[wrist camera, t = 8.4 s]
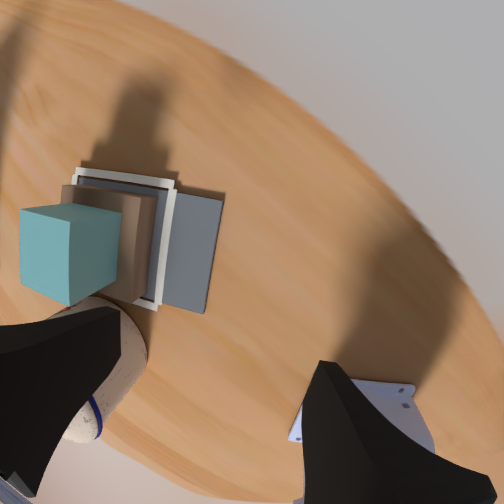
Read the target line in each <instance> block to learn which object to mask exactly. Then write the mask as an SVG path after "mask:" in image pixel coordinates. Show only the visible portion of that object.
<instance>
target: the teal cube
mask: <svg viewBox="0 0 504 504" xmlns="http://www.w3.org/2000/svg"><path fill="white" fill-rule="evenodd" d="M121 215H122V213H119V212H114V211H109V210H104V209H100V208H95V207H90V206H85V205H80V204H75V203H67V204H58V205H49V206H41V207H33V208H26V209H20V224H19V255H20V276H21V284H23V285H25V286H27V287H29V288H31V289H33V290H35V291H37V292H39V293H41V294H43V295H45V296H47V297H49V298H51V299H54V300H56V301H58V302H60V303H62V304H64V305H67V306H69V307H70V306H72V305H74V304H75V303H77V302H79V301H81V300H82V299H84V298H86V297H88V296H89V295H91V294H93V293H95V292H96V291H98V290H100V289H102V288H103V287H105V286H107V285H109V284H111V283H112V282H114V281H116V273H117V257H118V245H119V234H120V224H121Z"/></svg>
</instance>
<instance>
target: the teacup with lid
mask: <svg viewBox="0 0 504 504" xmlns="http://www.w3.org/2000/svg"><path fill="white" fill-rule="evenodd" d="M103 306H109V307H112V308H114V309H117V310H120V311H121V357H120V359H119V360H118V362H117V364H116V365H115V367H114V369H113V370H112V372H111V373H110V375H109V376H108V377H107V378H106V380H105V381H104V382H103V383H102V384H101V386H100V387H99V388H98V389H97V390H96V391H95V393H94V394H93V395H92V396H91V397H90V398H89V400H88V401H87V402H86V403H85V404H84V406H83V407H82V408H81V409H80V410H79V411H78V413H77V414H76V415H75V417H74V418H73V420H72V421H71V423H70V424H69V426H68V428H67V429H66V431H65V432H64V434H63V436H62V437H63V438H65V439H67V440H70V441H73V442H77V443H86V442H90V441H92V440H94V439H96V438H98V437H99V435H100V434H101V432H102V428H103V424H104V423H105V422H106V420H107V419H108V418H109V416H110V415H111V414H112V412H113V411H114V410H115V409H116V407H117V406H118V405H119V403H120V402H121V401H122V399H123V398H124V397H125V396H126V394H127V393H128V392H129V390H130V389H131V388H132V386H133V385H134V384H135V383H136V381H137V380H138V379H139V377H140V376H141V375H142V373H143V372H144V370H145V367H146V362H147V352H146V347H145V343H144V340H143V338H142V335H141V333H140V331H139V330H138V328H137V326H136V325H135V323H134V322H133V321H132V319H131V318H130V317H129V316H128V315H127V314H126V313H125V312H124V311H123V310H122V309H121V308H119V307H118V306H117V305H115V304H114V303H112V302H110V301H108V300H106V299H103V298H99V297H86V298H84V299H82V300H81V301H79V302H77V303H75V304H74V305H72V306H70V307H69V306H68V307H66V308H64V309H62V310H61V311H59V312H57V313H56V314H54V315H52V316H51V317H49V318H47V319H45V320H48V319H53V318H57V317H62V316H66V315H69V314H73V313H77V312H81V311H85V310H89V309H93V308H98V307H103Z"/></svg>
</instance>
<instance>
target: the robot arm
mask: <svg viewBox="0 0 504 504" xmlns="http://www.w3.org/2000/svg"><path fill="white" fill-rule="evenodd" d="M120 357H121V311H120V310H117V309H114V308H112V307H109V306H103V307H98V308H93V309H89V310H85V311H81V312H77V313H73V314H69V315H66V316H62V317H57V318H53V319H48V320H43V321H38V322H33V323H26V324H18V325H3V326H0V476H1V477H2V478H3V479H4V480H5V481H7V482H8V483H9V484H11V485H12V486H13V487H15V488H16V489H17V490H18V491H19V492H21V493H22V494H23V495H24V496H26V497H28V498H30V497H31V498H32V497H36V494H37V491H38V488H39V485H40V482H41V480H42V477H43V474H44V472H45V470H46V467H47V465H48V463H49V461H50V458H51V456H52V454H53V452H54V450H55V448H56V447H57V445H58V443H59V441H60V439H61V437H62V436H63V434H64V432H65V431H66V429H67V428H68V426H69V424H70V423H71V421H72V420H73V418H74V417H75V415H76V414H77V413H78V411H79V410H80V409H81V408H82V407H83V406H84V404H85V403H86V402H87V401H88V400H89V398H90V397H91V396H92V395H93V394H94V393H95V391H96V390H97V389H98V388H99V387H100V386H101V384H102V383H103V382H104V381H105V380H106V378H107V377H108V376H109V375H110V373H111V372H112V370H113V369H114V367H115V365H116V364H117V362H118V360H119V359H120ZM400 389H401V390H400ZM415 390H416V388H415V386H414V385H412V384H398V383H385V382H375V381H365V380H357V379H350V378H349V377H348V375H347V374H346V373H345V372H344V371H343V370H342V368H341V367H340V366H339V365H338V364H337V363H334V362H328V361H321V360H320V361H319V363H318V366H317V368H316V371H315V374H314V376H313V378H312V381H311V383H310V386H309V388H308V391H307V393H306V396H305V398H304V400H303V403H302V405H301V407H300V410H299V412H298V414H297V417H296V419H295V421H294V423H293V426H292V428H291V430H290V432H289V434H288V439H289V440H290V441H295V442H302V445H303V497H302V498H300V499H297V500H294V501H293V504H494V502H495V501H496V499H497V494H496V491H495V489H494V487H493V485H492V483H491V481H490V478H489V477H488V476H487V475H484V474H481V473H478V472H475V471H472V470H469V469H466V468H463V467H461V466H458V465H456V464H454V463H452V462H450V461H448V460H445V459H443V458H441V457H440V456H438V455H436V454H435V446H434V441H433V438H432V436H431V434H430V432H429V430H428V427H427V425H426V423H425V421H424V419H423V417H422V415H421V413H420V411H419V409H418V407H417V406H416V404H415V402H414V400H413V398H412V395H413V394H414V392H415ZM298 437H300V438H298ZM4 480H2V479H1V478H0V500H1V502H3V503H4V504H32V503H31V502H29V501H28V500H27V499H26V498H24V497H23V496H22V495H20V494H19V493H18V492H17V491H15V490H14V489H13V488H12V487H11V486H9V485H8V484H7V483H6V482H5V481H4Z"/></svg>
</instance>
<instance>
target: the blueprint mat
mask: <svg viewBox="0 0 504 504" xmlns="http://www.w3.org/2000/svg"><path fill="white" fill-rule="evenodd" d="M78 175H83V176H91V177H98V178H105V179H112V180H119V181H126V182H133V183H139V184H146V185H152V186H158V187H164V188H169V190H168V191H167V190H161V189H155V188H149V187H143V186H136V185H130V184H124V183H117V182H110V181H103V180H96V179H89V178H79V184H78V185H81V184H83V185H90V186H96V187H103V188H109V189H115V190H121V191H127V192H133V193H139V194H145V195H150V196H156V197H158V202H157V208H156V215H155V222H154V229H153V237H152V245H151V254H150V264H149V274H148V285H147V292H146V293H145V294H144V295H142V296H141V297H144V298H147V299H151V300H154V303H153V302H150V301H147V300H144V299H141V298H138V299H137V300H136V301H134V302H133V303H132V304H135V305H138V306H141V307H144V308H147V309H150V310H154V311H158V305H161V306H162V303H164V304H168V305H171V306H174V307H178V308H181V309H185V310H189V311H192V312H196V313H200V314H204V312H205V307H206V300H207V294H208V288H209V282H210V276H211V270H212V264H213V258H214V252H215V247H216V241H217V235H218V230H219V225H220V219H221V214H222V209H223V203H224V201H221V200H216V199H211V198H205V197H200V196H195V195H189V194H184V193H178V192H177V190H176V189H174V183H175V180H170V179H164V178H158V177H151V176H144V175H137V174H130V173H122V172H115V171H107V170H98V169H89V168H80V167H76V172H75V174H73V176H72V183H71V185H77V182H78Z"/></svg>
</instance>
